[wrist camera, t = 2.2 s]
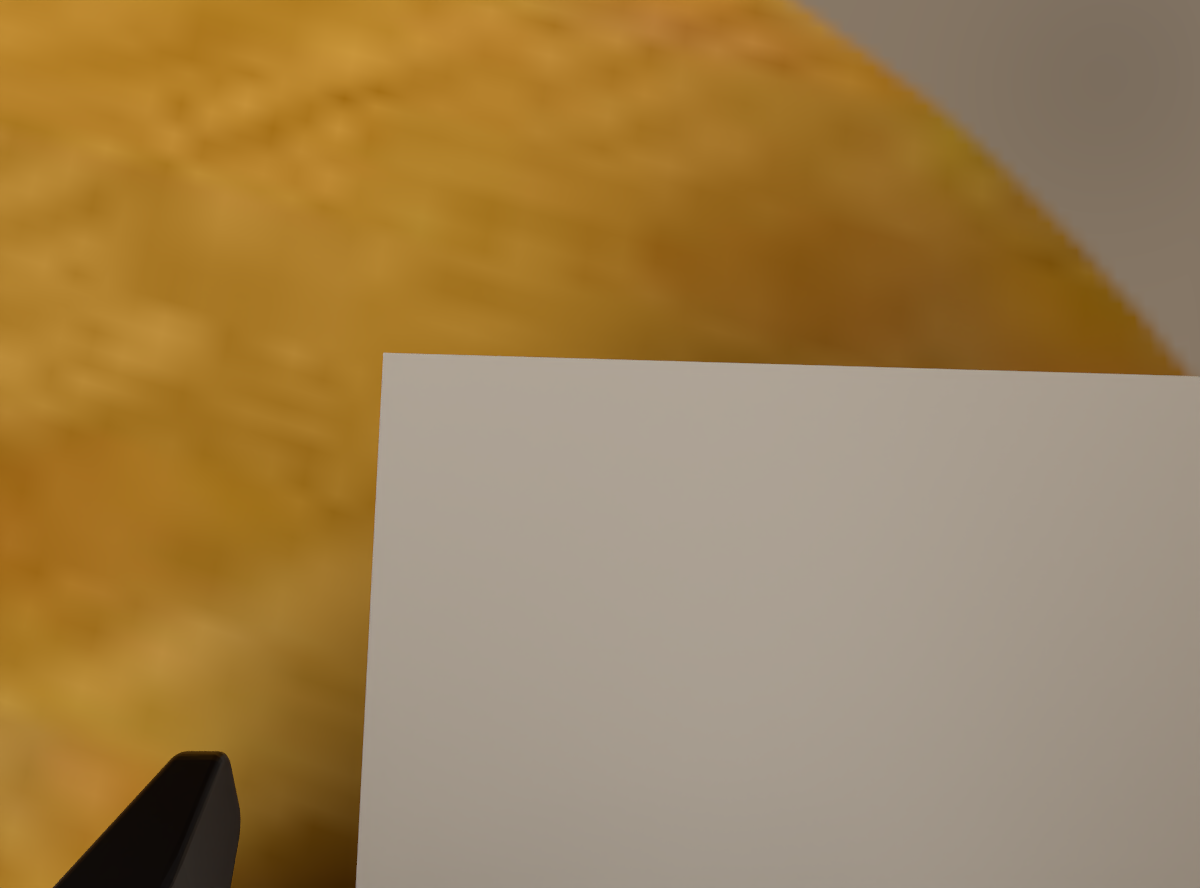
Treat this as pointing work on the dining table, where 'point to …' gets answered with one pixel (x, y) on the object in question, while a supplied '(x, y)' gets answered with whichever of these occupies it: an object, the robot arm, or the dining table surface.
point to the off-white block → (781, 627)
